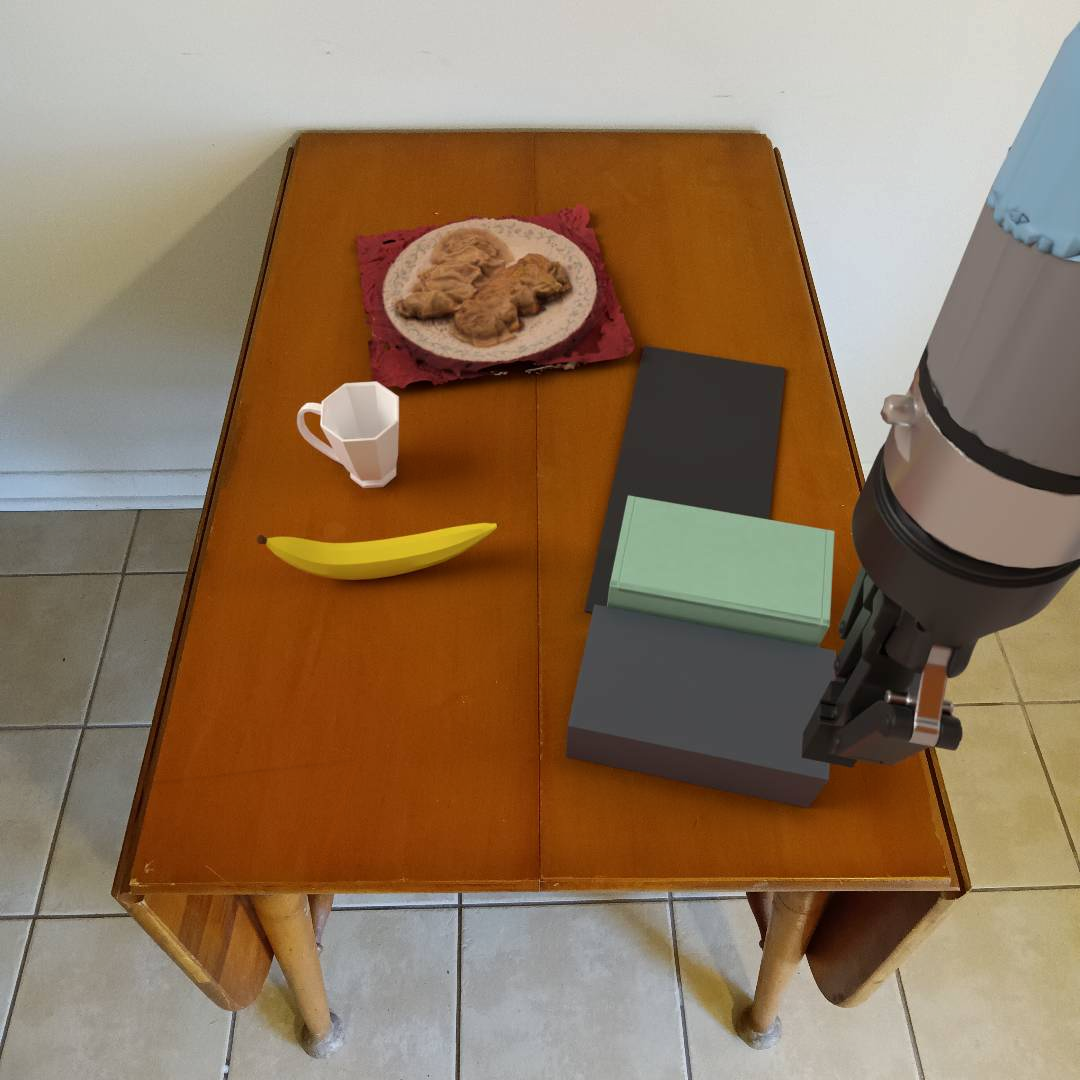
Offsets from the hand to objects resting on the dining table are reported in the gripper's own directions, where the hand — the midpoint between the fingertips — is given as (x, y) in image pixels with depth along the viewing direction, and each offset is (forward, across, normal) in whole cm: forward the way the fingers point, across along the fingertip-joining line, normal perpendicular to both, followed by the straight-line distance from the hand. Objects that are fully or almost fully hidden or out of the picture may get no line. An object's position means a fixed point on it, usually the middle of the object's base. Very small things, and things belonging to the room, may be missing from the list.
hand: (827, 749), depth 52 cm
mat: (+19, -32, -9) cm, 38 cm away
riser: (+19, -9, -6) cm, 22 cm away
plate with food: (+18, -51, -33) cm, 63 cm away
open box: (+15, -14, -6) cm, 21 cm away
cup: (+18, -27, -39) cm, 51 cm away
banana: (+19, -17, -33) cm, 42 cm away
